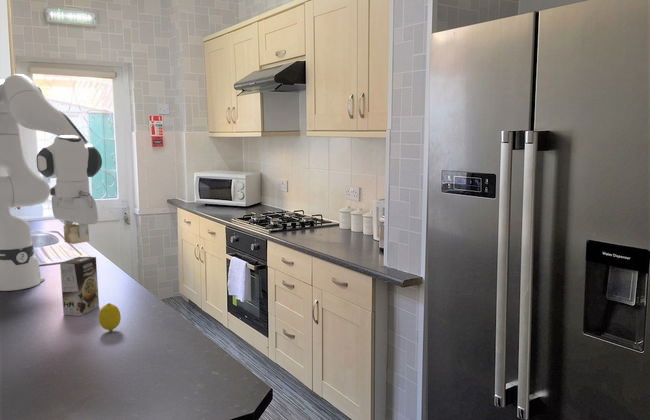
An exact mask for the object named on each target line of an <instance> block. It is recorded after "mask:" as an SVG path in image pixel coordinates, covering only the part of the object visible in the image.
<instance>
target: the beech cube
mask: <svg viewBox="0 0 650 420" xmlns="http://www.w3.org/2000/svg"><path fill="white" fill-rule="evenodd" d="M79 228H80V227H79V224H78V223H72V224H71V225H65V224H64V225H63V236H64V239H63V240H64V243H68V244H71V245H75V244H82V243H87V242H90V234H89V232H90V230H89V226H88V227H87V230H86V237H85V238H79V237H78V232H79Z"/></svg>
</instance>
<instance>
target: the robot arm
mask: <svg viewBox="0 0 650 420" xmlns="http://www.w3.org/2000/svg"><path fill="white" fill-rule="evenodd" d="M19 125H20V126H22V127H24V128H26V129H29V130H32V131H33V130H34V131H40V132H44V133H48V134H53V135H56V136H55V138H54V140H53V143H52V144H51V145H48V146H46V147H43V148H42V149H41V150H40V151H38V153H37V155H36V167H37V170H38V172H39V174H41V175H43V176H41V175H39V174H38V173H36V172H35V171H34V170H33V168H31V167H30V165H29V164H28V162H27V160H26V158H25V156H24V151H23V146H22V140H21V132H20V129H19ZM102 165H103V158H102V156H101V153H100V151H98V149H97V148H96V147H95V146H94V145H92V144H91V143H90V142H89V141H88V140H87V139H86V137H85V136H84V135H83V133H82V132H81V131H80V130H79V129H78V128H77V126H76V124H74V123H73V121H72V120H71V119H70V117H68V116H67V115H66V114H65V113H64V112H62V111H60V110H58V109H57V108H55V107H54V106H53V105H52V104H51V103H50V102H49V101H48V100H47V99H46V97H45V96H44V94H43V91H42V89H41V87H40V86H39V85H38V84H36V83H35V82H34V81H33V80H32V78H30V77H29V76H27V75H26V74H22V73H16V74H14V73H13V74H12V75H9V76H7V77H6V78H5V79H0V168H1V169H3V170H5V172H7V176H6V175H5V176H0V291H1V292H7V291H9V292H10V291H20V290H24V289H29V288H33V287H35V286H37V285H38V286H39V284H41V282H43V281H45V277H44V276H42V275H41V269H40V264H39V262H40V261H39V259H38V258H37V257H35V256H34V255H35V248H34V245H33V243H32V233H31V225H30V223H29V222H28V221H27V220H25V219H23V218H21V217H18V216H15V215H12V214H11V212H10V209H12V208H21V207H22V208H23V207H32V206H37V205H40V204H44V203H46V201H47V200H48V199H49V197H50V196H51V207H52V208H51V209H52V215H53V217H54V219H55V220H61V221H63V224H64V225H71V224H79V227H80V228H79V232H78V237H79V238H85V237H86V230H87V227H88V228H89V226H90V225H94V224H97V223H98V221H99V215H98V208H97V202H96V200H95V199H94V198H93V197H94V196H93V195H91V192H90V191H91V190H90V181H89V180H90V179H89V178H93V177H94V176H95V175H97V174H98V172H99V171H100V170H101V169H102ZM45 178H48V179H56V180H55V183H56V184H55V185H54V186H52V187H50V185H49V182H48V181H47V179H45Z"/></svg>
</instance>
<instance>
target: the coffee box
mask: <svg viewBox="0 0 650 420" xmlns="http://www.w3.org/2000/svg"><path fill="white" fill-rule="evenodd" d="M59 265H60V281H61V295H62V297H61V298H62V310H63V312H62V313H63V316H74V317H75V316H77V317H82V316H85V315H86V314H88V313H90V312H92V311H94V310H96V309H98V308H100V298H99V286H98V270H97V266H98V265H97V257H96V256H77V257H74V258H71V259H68V260H64V261H63V262H60V263H59Z"/></svg>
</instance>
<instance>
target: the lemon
mask: <svg viewBox="0 0 650 420" xmlns="http://www.w3.org/2000/svg"><path fill="white" fill-rule="evenodd" d="M121 317H122V316H121V312H120V309H119V307H118V306H117V305H115V304H112V303H111V302H109V303H107V304H105V305H103V307H102V308H100V310H99V315H98V322H99V324H100V326H101V328H102V329H104V330H107V331H108V332H113V330H114V329H116V328H117V327H118V326H119V325H120V323H121V319H122V318H121Z"/></svg>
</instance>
